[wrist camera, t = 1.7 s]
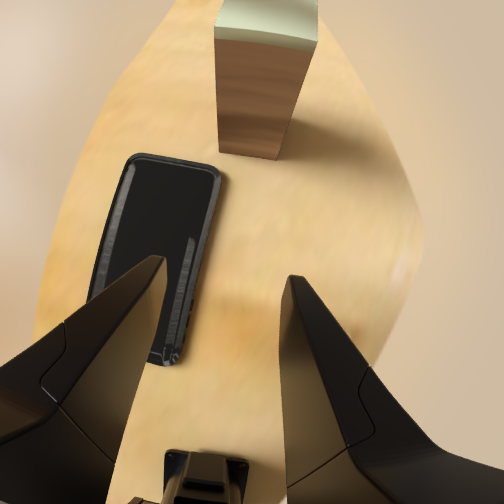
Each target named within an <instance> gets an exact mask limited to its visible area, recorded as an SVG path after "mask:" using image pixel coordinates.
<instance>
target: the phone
mask: <svg viewBox="0 0 504 504" xmlns="http://www.w3.org/2000/svg"><path fill="white" fill-rule="evenodd" d="M220 188H221V175H220V172H219V171H218V169H217V168H215V167H214V166H211V165H208V164H203V163H198V162H192V161H187V160H182V159H176V158H171V157H165V156H159V155H153V154H147V153H137V154H134V155H132V156H131V157H130V158H129V159H128V160H127V162H126V163H125V166H124V169H123V171H122V174H121V177H120V180H119V183H118V186H117V189H116V192H115V195H114V198H113V201H112V204H111V207H110V210H109V213H108V217H107V220H106V223H105V227H104V230H103V234H102V237H101V241H100V245H99V249H98V252H97V256H96V260H95V264H94V269H93V273H92V277H91V282H90V286H89V291H88V296H87V300H86V303H87V302H88V301H90V300H91V299H92V298H94V297H95V296H96V295H98V294H99V293H100V292H102V291H103V290H104V289H105V288H107V287H108V286H109V285H111V284H112V283H113V282H115V281H116V280H118V279H119V278H120V277H122V276H123V275H124V274H126V273H127V272H128V271H130V270H131V269H132V268H134V267H135V266H137V265H138V264H139V263H141V262H142V261H143V260H145V259H146V258H148V257H149V256H151V255H156V256H163V257H165V258H166V263H167V286H166V291H165V295H164V299H163V303H162V308H161V312H160V317H159V321H158V326H157V330H156V334H155V337H154V340H153V343H152V346H151V349H150V352H149V355H148V358H147V361H146V362H148V363H152V364H155V365H159V366H164V367H166V366H170V365H172V364H174V363H175V362H176V361H177V360H178V358H179V357H180V354H181V350H182V345H183V343H184V340H185V331H186V328H187V327H188V322H189V318H190V315H189V313H190V311H191V310H192V306H193V301H194V299H193V295H194V291H195V287H196V282H197V278H198V274H199V270H200V266H201V261H202V257H203V253H204V249H205V245H206V241H207V237H208V233H209V229H210V225H211V222H212V218H213V214H214V210H215V206H216V203H217V199H218V195H219V191H220Z"/></svg>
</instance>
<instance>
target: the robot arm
mask: <svg viewBox="0 0 504 504" xmlns="http://www.w3.org/2000/svg"><path fill="white" fill-rule="evenodd" d="M166 286H167V263H166V258H165V257H163V256H156V255H151V256H149V257H148V258H146V259H145V260H143V261H142V262H141V263H139V264H138V265H137V266H135V267H134V268H132V269H131V270H130V271H128V272H127V273H126V274H124V275H123V276H122V277H120V278H119V279H118V280H116V281H115V282H113V283H112V284H111V285H109V286H108V287H107V288H105V289H104V290H103V291H102V292H100V293H99V294H98V295H96V296H95V297H94V298H92V299H91V300H90V301H88V302H87V303H86V304H85V305H83V306H82V307H81V308H79V309H78V310H77V311H76V312H74V313H73V314H72V315H71V316H69V317H68V318H67V319H65V320H64V323H63V322H62V323H60V324H59V325H58V326H57V327H55V328H54V329H53V330H52V331H50V332H49V333H48V334H46V335H45V336H44V337H42V338H41V339H40V340H39V341H37V342H36V343H34V344H33V345H32V346H30V347H29V348H27V349H26V350H25V351H23V352H22V353H20V354H19V355H17V356H16V357H14V358H13V359H11V360H10V361H8V362H7V363H6V364H4V365H3V366H1V367H0V504H105V503H106V499H107V495H108V491H109V487H110V483H111V479H112V475H113V471H114V467H115V463H116V459H117V455H118V452H119V448H120V445H121V441H122V438H123V434H124V431H125V427H126V424H127V420H128V417H129V414H130V410H131V407H132V404H133V401H134V398H135V394H136V391H137V388H138V385H139V382H140V379H141V376H142V373H143V370H144V367H145V364H146V361H147V358H148V355H149V352H150V349H151V346H152V343H153V340H154V337H155V334H156V330H157V326H158V321H159V317H160V312H161V308H162V303H163V299H164V295H165V291H166ZM279 366H280V381H281V396H282V412H283V428H284V446H285V464H286V484H287V488H288V489H287V504H504V470H501V469H498V468H494V467H491V466H488V465H484V464H481V463H478V462H475V461H472V460H469V459H465V458H463V457H460V456H457V455H454V454H451V453H449V452H447V451H445V450H443V449H442V448H440V447H439V446H437V445H436V444H435V443H434V442H433V441H432V440H431V439H430V438H429V437H428V436H427V435H426V434H425V433H424V432H423V430H422V429H421V428H420V427H419V426H418V425H417V423H416V422H415V421H414V420H413V419H412V418H411V417H410V415H409V414H408V413H407V412H406V411H405V410H404V409H403V408H402V406H401V405H400V404H399V403H398V402H397V400H396V399H395V398H394V397H393V396H392V394H391V393H390V392H389V391H388V389H387V388H386V387H385V385H384V384H383V383H382V381H381V380H380V379H379V378H378V376H377V375H376V373H375V372H374V371H373V369H372V368H371V367H370V366H369V364H368V362H367V361H366V360H365V358H364V357H363V356H362V354H361V353H360V351H359V350H358V349H357V347H356V346H355V345H354V343H353V342H352V340H351V339H350V338H349V336H348V335H347V334H346V332H345V331H344V330H343V328H342V327H341V326H340V324H339V323H338V321H337V320H336V319H335V317H334V316H333V315H332V313H331V312H330V311H329V309H328V308H327V307H326V305H325V304H324V303H323V301H322V300H321V299H320V297H319V296H318V295H317V293H316V292H315V291H314V289H313V288H312V287H311V285H310V284H309V283H308V281H307V280H306V279H305V278H304V277H303V276H298V275H289V276H288V278H287V281H286V285H285V288H284V292H283V295H282V300H281V314H280V333H279ZM368 366H369V367H368ZM169 454H172V455H173V456H174V457H170V456H169ZM241 464H245V466H240V465H241ZM248 470H249V463H248V461H247V460H245V459H236V458H226V457H224V456H220V455H211V454H204V453H197V452H190V453H189V452H183V451H177V450H171V449H170V450H167V451H166V453H165V458H164V487H163V499H162V502H161V504H243V499H244V493H245V487H246V482H247V476H248ZM128 504H159V503H155V502H150V501H146V500H143V498H139V497H134V498H133V499H132V500H131V501H130V502H129V503H128Z"/></svg>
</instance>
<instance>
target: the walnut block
mask: <svg viewBox="0 0 504 504" xmlns="http://www.w3.org/2000/svg"><path fill="white" fill-rule="evenodd" d="M317 42H318V0H224V2H223V4H222V7H221V9H220V12H219V14H218V17H217V20H216V22H215V25H214V47H215V77H216V102H217V123H218V143H219V152H221V153H228V154H236V155H243V156H250V157H257V158H263V159H270V160H276V159H277V156H278V153H279V150H280V147H281V144H282V142H283V139H284V136H285V133H286V130H287V127H288V124H289V122H290V119H291V116H292V113H293V110H294V107H295V104H296V102H297V99H298V96H299V93H300V90H301V87H302V85H303V82H304V79H305V76H306V73H307V70H308V68H309V65H310V62H311V59H312V56H313V53H314V51H315V48H316V45H317Z"/></svg>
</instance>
